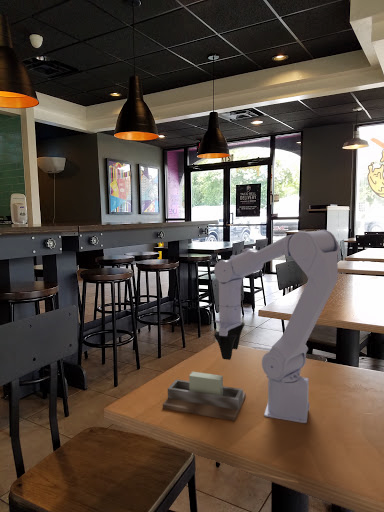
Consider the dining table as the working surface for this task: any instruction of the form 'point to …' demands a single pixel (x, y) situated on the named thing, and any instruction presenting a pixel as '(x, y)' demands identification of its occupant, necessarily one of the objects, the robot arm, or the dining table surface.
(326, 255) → the robot arm
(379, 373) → the dining table surface
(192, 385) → the panel
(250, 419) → the dining table surface
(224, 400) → the grey metal tray
